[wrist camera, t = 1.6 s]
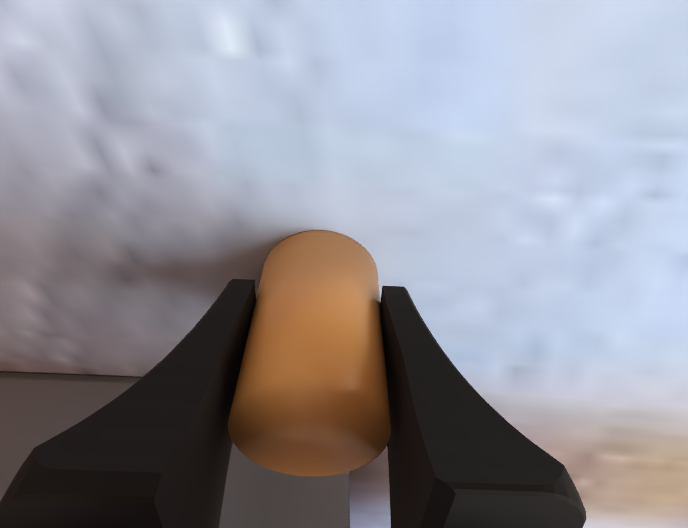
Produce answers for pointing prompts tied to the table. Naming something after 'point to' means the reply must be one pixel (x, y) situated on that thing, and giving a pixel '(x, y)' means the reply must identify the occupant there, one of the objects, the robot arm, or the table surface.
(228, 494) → the housing
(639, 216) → the table surface
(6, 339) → the table surface
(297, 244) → the jaw peg
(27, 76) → the table surface
